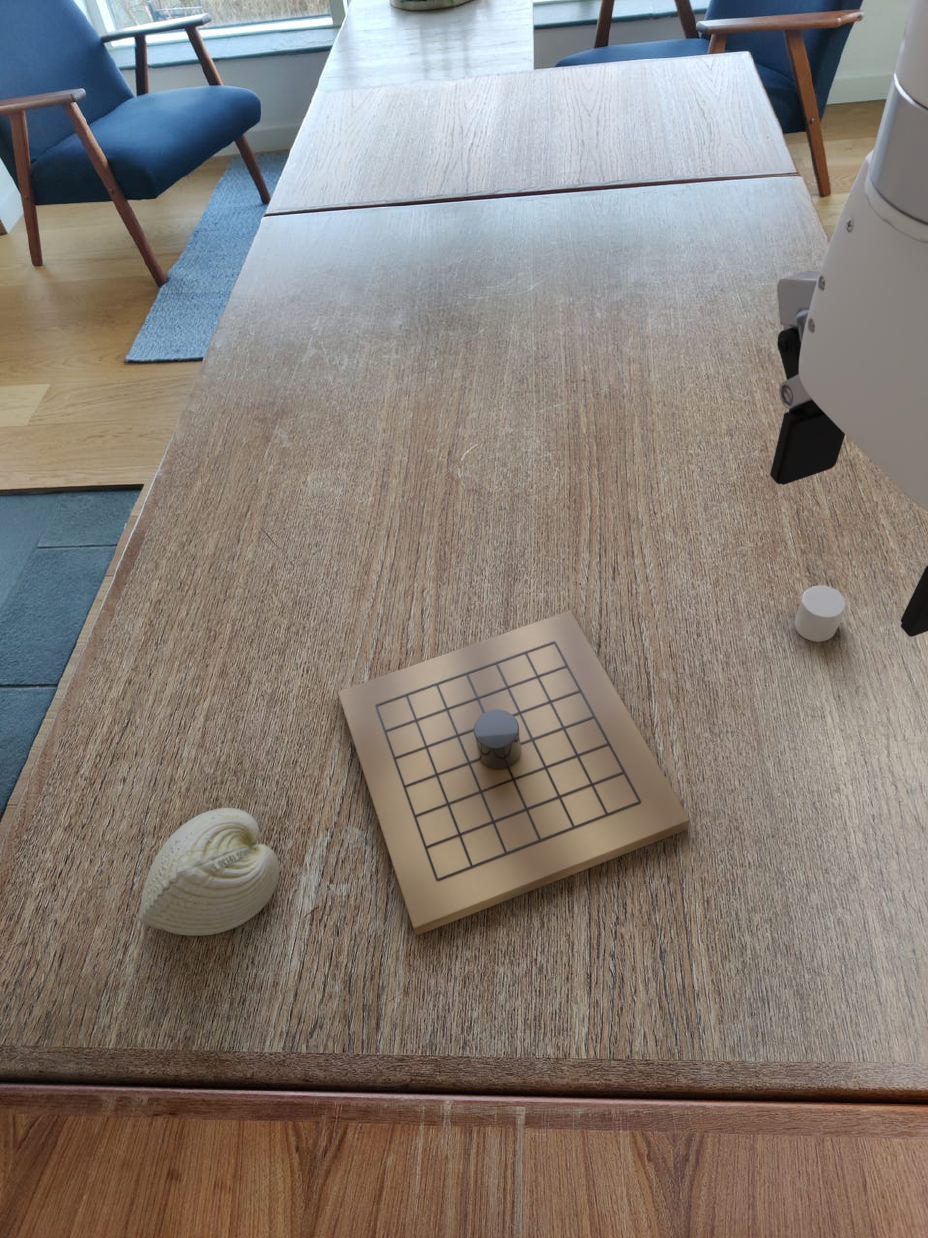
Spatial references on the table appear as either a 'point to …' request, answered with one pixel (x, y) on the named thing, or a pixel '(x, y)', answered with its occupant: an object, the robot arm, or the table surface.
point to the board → (505, 771)
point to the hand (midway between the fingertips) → (863, 541)
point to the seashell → (209, 875)
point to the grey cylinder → (819, 613)
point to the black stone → (497, 739)
